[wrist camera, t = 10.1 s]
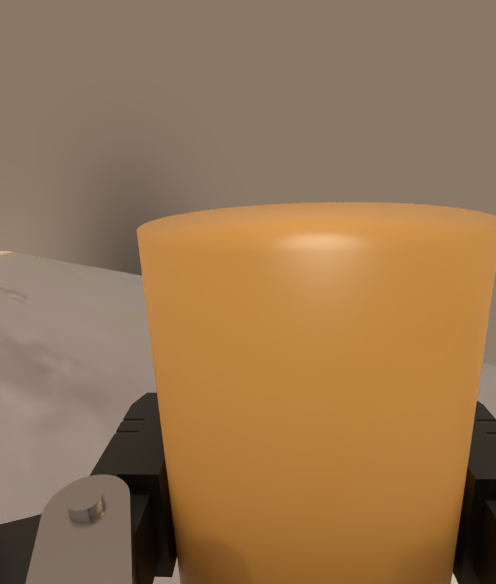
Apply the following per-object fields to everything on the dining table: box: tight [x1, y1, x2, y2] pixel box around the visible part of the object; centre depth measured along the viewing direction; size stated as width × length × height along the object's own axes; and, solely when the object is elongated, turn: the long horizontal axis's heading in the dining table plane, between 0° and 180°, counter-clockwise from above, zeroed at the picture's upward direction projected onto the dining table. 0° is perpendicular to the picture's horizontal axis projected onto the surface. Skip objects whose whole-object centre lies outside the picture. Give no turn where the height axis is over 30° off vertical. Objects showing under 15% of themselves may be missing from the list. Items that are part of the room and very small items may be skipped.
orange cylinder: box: [137, 202, 496, 584], centre depth 8 cm, size 5×5×12 cm
